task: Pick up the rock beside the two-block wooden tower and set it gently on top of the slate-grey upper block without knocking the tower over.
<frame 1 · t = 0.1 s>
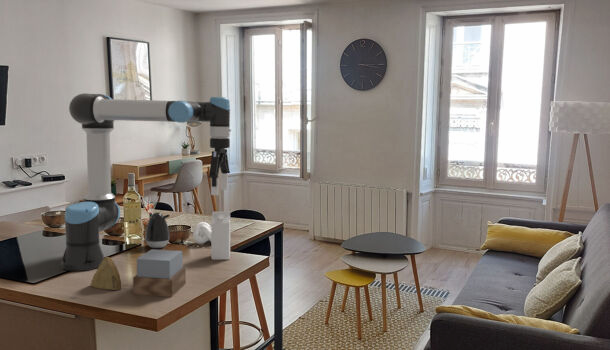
hand: (219, 192, 205), 28 cm above the worktop, tool pointing down, fingers open, 13 cm apart
white spiral shell: (205, 243, 238), on the worktop
bottom block: (160, 289, 176), on the worktop, touching top block
pump dispenser: (157, 247, 229), on the worktop
rock: (106, 288, 176), on the worktop
milk carton: (220, 257, 215), on the worktop
top block: (160, 272, 176), point 6 cm above the worktop, touching bottom block
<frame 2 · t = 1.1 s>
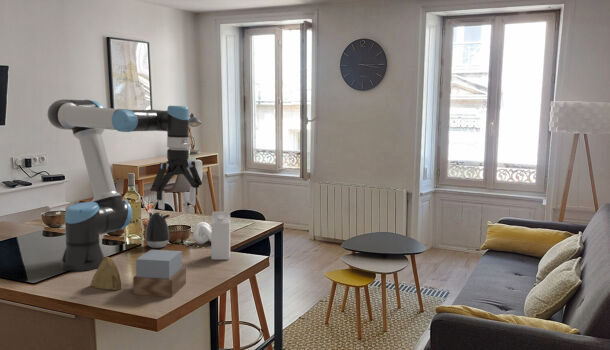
hand: (177, 206, 193), 24 cm above the worktop, tool pointing down, fingers open, 13 cm apart
nothing on the worktop moved.
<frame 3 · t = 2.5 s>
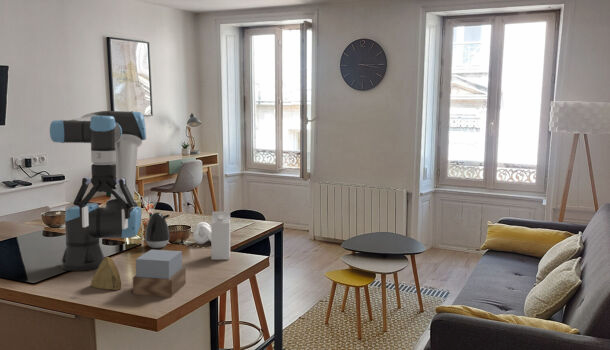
hand: (105, 227, 174), 20 cm above the worktop, tool pointing down, fingers open, 13 cm apart
bottom block: (160, 289, 176), on the worktop
top block: (159, 272, 176), point 6 cm above the worktop
everything else where it was.
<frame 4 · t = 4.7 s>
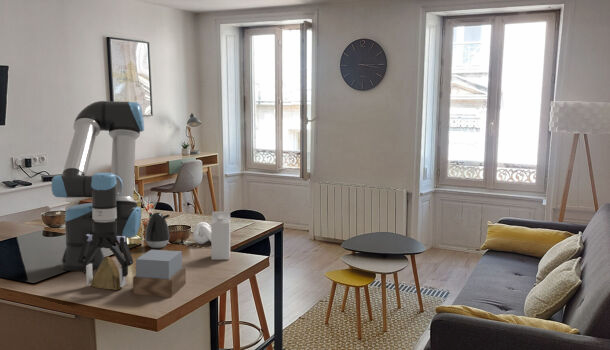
hand: (106, 284, 176), 1 cm above the worktop, tool pointing down, fingers closed on rock, 11 cm apart
bottom block: (160, 290, 176), on the worktop, touching top block
rock: (106, 288, 176), on the worktop, touching gripper
top block: (159, 272, 176), point 6 cm above the worktop, touching bottom block
everything else where it was.
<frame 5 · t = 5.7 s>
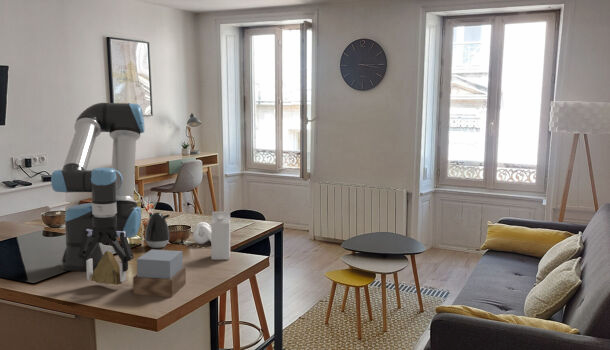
hand: (106, 279, 176), 3 cm above the worktop, tool pointing down, fingers closed on rock, 11 cm apart
bottom block: (160, 290, 176), on the worktop
rock: (107, 282, 177), point 1 cm above the worktop, touching gripper
top block: (160, 272, 176), point 6 cm above the worktop
everything else where it was.
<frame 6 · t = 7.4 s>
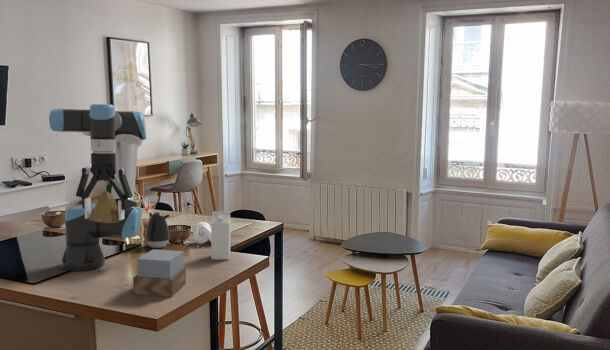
hand: (104, 218, 174), 23 cm above the worktop, tool pointing down, fingers closed on rock, 11 cm apart
bottom block: (160, 290, 176), on the worktop, touching top block
rock: (105, 222, 174), point 22 cm above the worktop, touching gripper
top block: (161, 272, 176), point 6 cm above the worktop, touching bottom block
everything else where it was.
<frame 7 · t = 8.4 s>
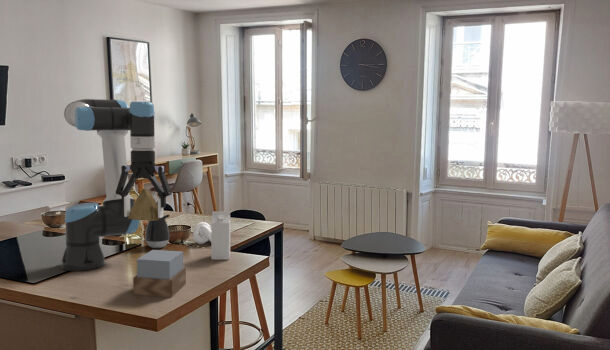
hand: (144, 216, 173), 25 cm above the worktop, tool pointing down, fingers closed on rock, 11 cm apart
rock: (144, 220, 173), point 23 cm above the worktop, touching gripper
everything else where it was.
when the fingers open (14 cm above the worktop, at t = 10.9 s): rock drops 2 cm, resting on top block.
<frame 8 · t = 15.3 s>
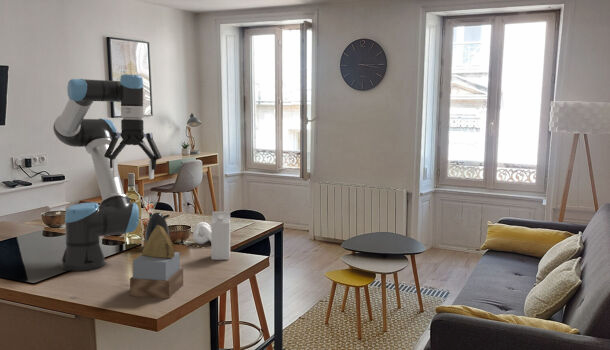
hand: (133, 178, 190), 35 cm above the worktop, tool pointing down, fingers open, 13 cm apart
bottom block: (157, 291, 175), on the worktop, touching top block
rock: (158, 257, 173), point 11 cm above the worktop, touching top block
top block: (157, 273, 174), point 6 cm above the worktop, touching bottom block, rock
everything else where it was.
at the end: rock 0.7 cm off-centre on the top block, point 5.8 cm above the top block's base; top block 0.2 cm off-centre on the bottom block, point 6.0 cm above the bottom block's base; bottom block tilted 0° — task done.
